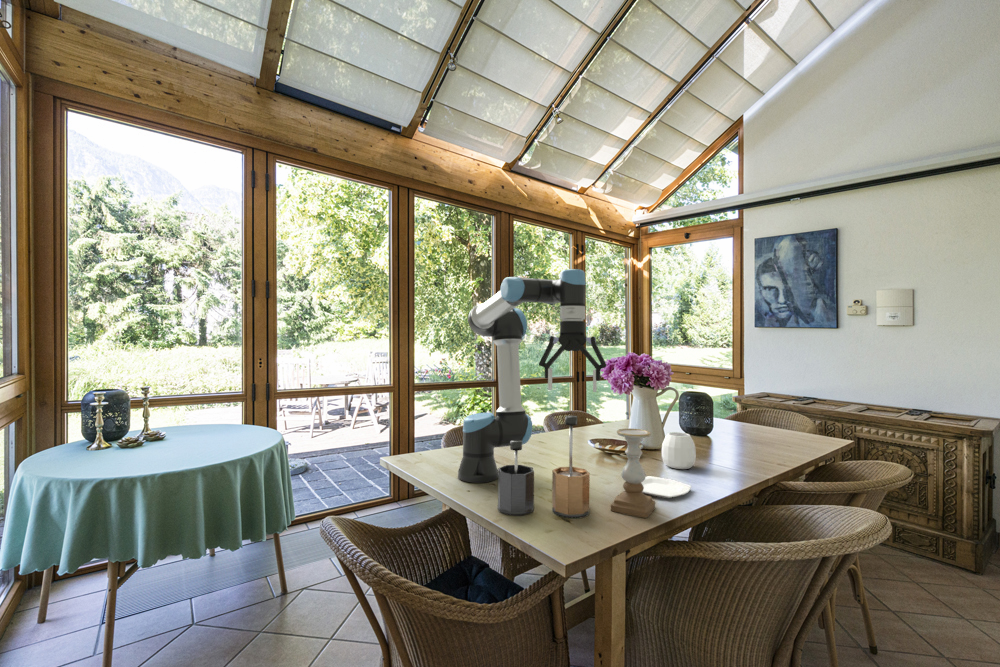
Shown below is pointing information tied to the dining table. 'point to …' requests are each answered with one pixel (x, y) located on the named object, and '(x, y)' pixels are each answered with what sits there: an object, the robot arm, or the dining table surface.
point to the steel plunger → (516, 451)
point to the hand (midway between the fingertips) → (572, 390)
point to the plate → (664, 487)
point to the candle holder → (633, 478)
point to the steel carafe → (515, 490)
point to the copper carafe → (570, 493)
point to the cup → (678, 450)
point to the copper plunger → (570, 421)
